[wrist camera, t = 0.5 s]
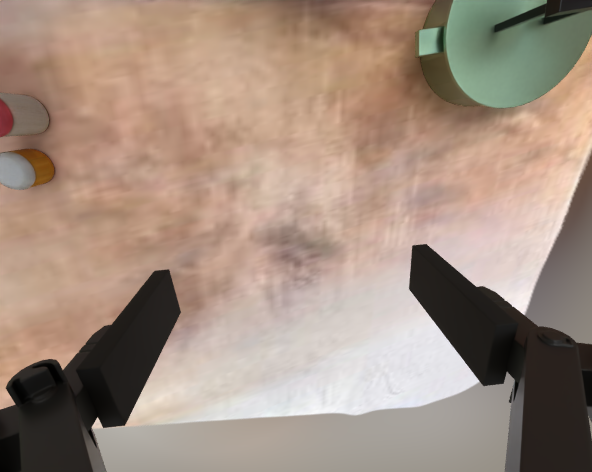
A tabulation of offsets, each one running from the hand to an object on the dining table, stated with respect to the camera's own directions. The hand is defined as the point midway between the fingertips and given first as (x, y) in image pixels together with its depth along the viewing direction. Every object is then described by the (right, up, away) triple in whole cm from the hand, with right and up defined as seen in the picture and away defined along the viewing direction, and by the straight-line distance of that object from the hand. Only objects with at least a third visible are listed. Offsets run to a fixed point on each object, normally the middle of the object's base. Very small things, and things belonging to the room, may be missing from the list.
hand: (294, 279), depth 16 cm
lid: (+23, +24, +14) cm, 36 cm away
